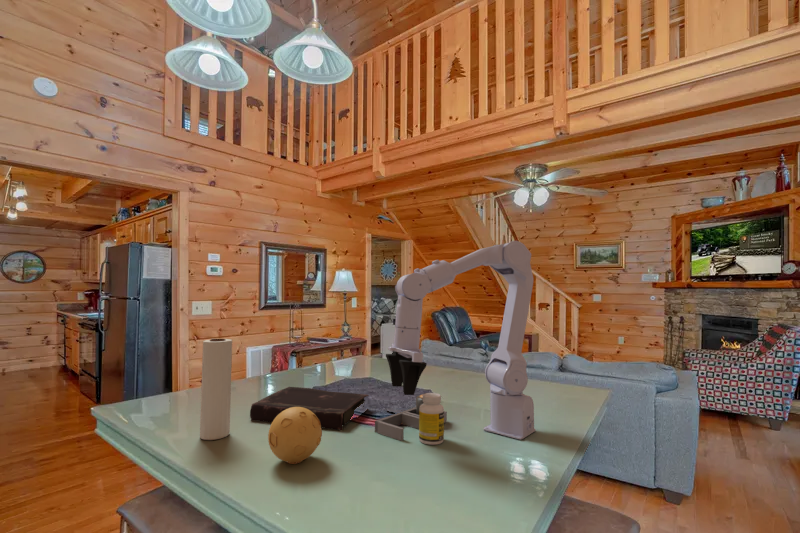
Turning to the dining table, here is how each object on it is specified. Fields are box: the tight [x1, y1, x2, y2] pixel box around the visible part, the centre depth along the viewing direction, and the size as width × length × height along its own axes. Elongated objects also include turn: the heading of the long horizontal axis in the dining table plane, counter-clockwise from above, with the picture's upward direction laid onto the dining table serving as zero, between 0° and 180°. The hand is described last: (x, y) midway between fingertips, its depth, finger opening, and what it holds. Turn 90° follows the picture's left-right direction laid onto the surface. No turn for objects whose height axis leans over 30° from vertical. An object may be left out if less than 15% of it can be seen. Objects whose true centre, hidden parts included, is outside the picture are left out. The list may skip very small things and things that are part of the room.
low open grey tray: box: [374, 394, 448, 442], centre depth 99 cm, size 17×17×6 cm
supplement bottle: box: [418, 392, 445, 446], centre depth 87 cm, size 5×5×10 cm
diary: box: [249, 386, 369, 431], centre depth 105 cm, size 19×25×5 cm
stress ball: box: [267, 407, 323, 465], centre depth 76 cm, size 10×10×10 cm
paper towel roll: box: [199, 338, 233, 441], centre depth 90 cm, size 7×6×21 cm
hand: (402, 390), depth 87 cm, fingers open, 7 cm apart
